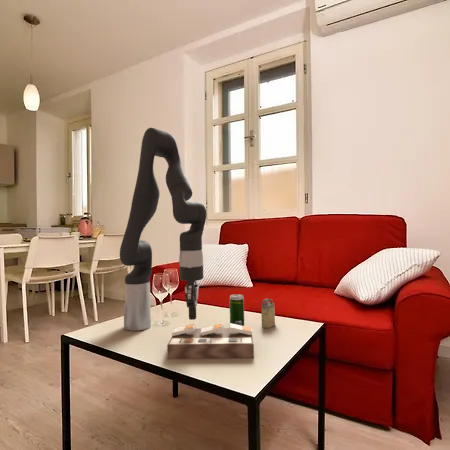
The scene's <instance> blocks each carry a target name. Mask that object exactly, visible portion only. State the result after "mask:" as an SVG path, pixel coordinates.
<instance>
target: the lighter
mask: <svg viewBox="0 0 450 450" xmlns="http://www.w3.org/2000/svg"><path fill="white" fill-rule="evenodd" d="M261 303H262V304H261V309H260V310H261V327H262V328H263V329H270V328H271V327H274V326H275V325H276V316H275V315H276V314H275V313H276V312H275V308H276V307H275V302H273V298H270V299H269V298H264V299H263V300H262V301H261Z"/></svg>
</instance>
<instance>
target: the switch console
mask: <svg viewBox="0 0 450 450" xmlns="http://www.w3.org/2000/svg"><path fill="white" fill-rule="evenodd" d="M201 329H202V328H195V330H194V331H191V332H187V333H183V334H179V335H175V336H172V335H171V338H170V339H169V341H168V343H167V346H166V347H167V348H166V349H167V354H166V355H167V360H172V359H173V360H174V359H175V360H177V359H179V360H180V359H181V360H183V359H186V360H187V359H255V354H254V349H255V348H254V340H253V339H254V337H253V334H252V335H248V334H244V333H239V332H234V331H230V330H229V327H223V331H219V332H215V333H211V334H207V335H203V336H201Z"/></svg>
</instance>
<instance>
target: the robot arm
mask: <svg viewBox="0 0 450 450" xmlns="http://www.w3.org/2000/svg"><path fill="white" fill-rule="evenodd" d="M139 155H140V156H139V162H138V163H139V164H138V171H137V176H136V177H137V178H136V182H135V187H134V189H133V190H134V191H133V196H132V199H131V207H130V211H129V216H128V220H127V225H126V229H125V231H124V234H123V238H122V241H121V244H120V249H119V261H120V262H121V263H122V265H124V266H127V267H129V266H130V267H132V266H133V269H132V270H131V271H130V272H129V273H127V274H126V275H125V277H124V292H125V293H124V295H125V301H124V303H123V330H127V331H131V332H133V331H134V332H137V331H144V330H147V329H150V327H151V326H152V324H151V323H152V322H151V321H152V319H151V318H152V317H151V282H150V281H151V280H150V279H151V276H152V272H153V265H152V264H153V251H152V246H151V245H150V243H149V242H148V241H146V240H141V237H142V233H143V231H144V229H145V227H146V226H147V224H148V223H149V222H150V221H151V220H152V219H153V217H154V215H155V214H156V212H157V209H158V208H157V207H158V205H159V199H160V188H159V185H158V182H157V179H156V176H155V171H154V162H155V157H159V158H162V159H164V160H165V162H166V163H167V165H168V166H167V170H166V173H165V183H166V186H167V189H168V192H169V193H170V196H171V203H172V204H171V205H172V216H173V218H174V221H176V222H177V223H179V224H181V225H188V224H189V225H190V227H189V228H188V230H185V231H183V232H181V233H180V234H179V260H178V262H179V266H178V267H179V279H180V280H181V281H183V282H186V284H185V286H184V292H185V294H184V298H185V303H186V308H188V319H189V321H190V320H195V321H196V319H197V305H198V301H199V300H198V298H199V289H200V285H199V284H197V282H198V281H201V280H203V279H204V278H205V277H204V256H203V239H202V237H203V234H204V229H205V225H206V220H207V215H208V214H207V209H206V207H205V205H204V203H202V202H201V201H189V200H190V199H191V198H192V197H193V189H192V188H191V185H190V183H189V181H188V178H187V176H186V175H185V172H184V168H183V165H182V160H181V156H180V152H179V147H178V143H177V140H176V138H175V137H174V135H173V134H172V133H170V132H168V131H164V130H161V129H158V128H154V127H148V128H147V129H146V130H145V132H144V134H143V137H142V141H141V146H140V154H139Z"/></svg>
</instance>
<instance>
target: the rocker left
mask: <svg viewBox="0 0 450 450" xmlns="http://www.w3.org/2000/svg"><path fill="white" fill-rule="evenodd" d="M196 326H197V325H196V323H191V324H187V325H184V326H180V327H176V328H175V327H174V329H173V330H172V332H171V337H172V336H175V335H179V334H183V333H187V332H191V331H194V330H195V329H196V328H197V327H196Z"/></svg>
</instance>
